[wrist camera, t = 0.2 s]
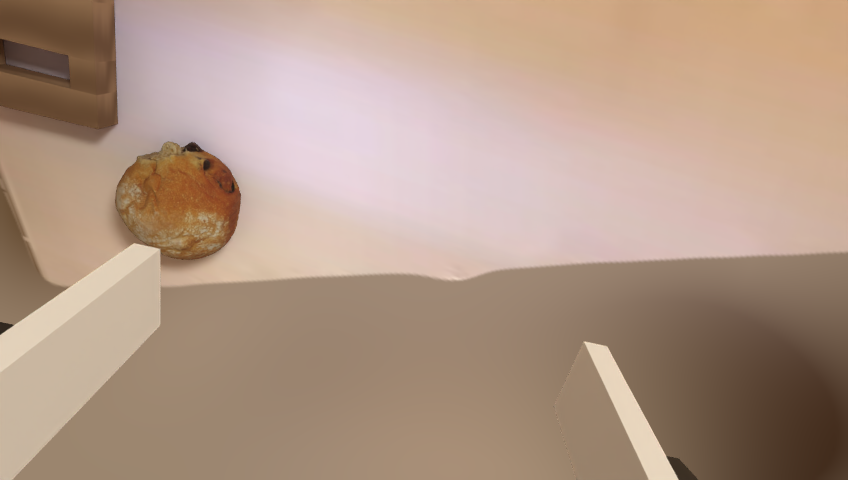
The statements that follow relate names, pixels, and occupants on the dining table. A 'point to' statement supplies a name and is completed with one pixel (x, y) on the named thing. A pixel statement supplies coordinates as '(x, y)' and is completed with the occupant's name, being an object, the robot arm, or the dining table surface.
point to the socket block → (70, 35)
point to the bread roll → (180, 201)
